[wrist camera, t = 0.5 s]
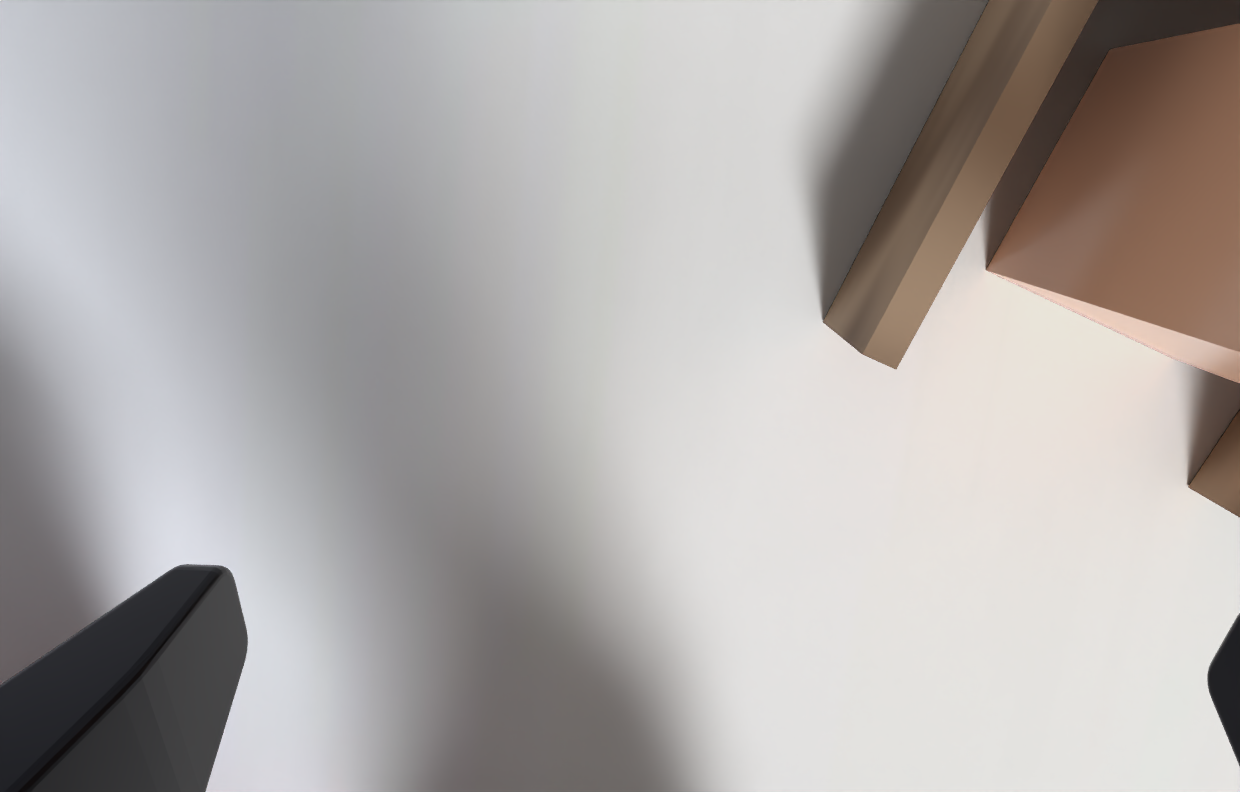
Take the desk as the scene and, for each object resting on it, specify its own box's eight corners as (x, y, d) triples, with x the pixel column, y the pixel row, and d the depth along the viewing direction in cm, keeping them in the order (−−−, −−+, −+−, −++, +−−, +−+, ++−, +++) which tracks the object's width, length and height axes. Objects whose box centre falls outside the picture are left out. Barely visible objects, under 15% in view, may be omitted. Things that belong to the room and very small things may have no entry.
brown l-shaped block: (1213, 498, 23) (1418, 617, 17) (822, 322, 21) (901, 385, 16) (1496, 82, 20) (1855, 54, 14) (1067, -153, 19) (1274, -288, 13)
